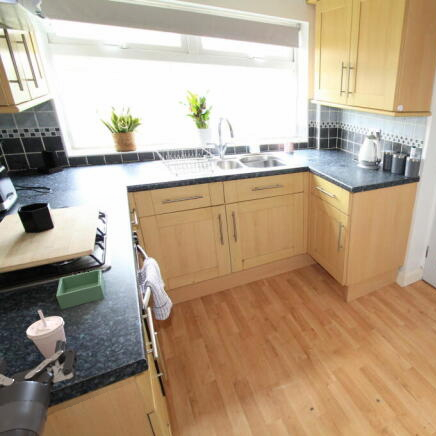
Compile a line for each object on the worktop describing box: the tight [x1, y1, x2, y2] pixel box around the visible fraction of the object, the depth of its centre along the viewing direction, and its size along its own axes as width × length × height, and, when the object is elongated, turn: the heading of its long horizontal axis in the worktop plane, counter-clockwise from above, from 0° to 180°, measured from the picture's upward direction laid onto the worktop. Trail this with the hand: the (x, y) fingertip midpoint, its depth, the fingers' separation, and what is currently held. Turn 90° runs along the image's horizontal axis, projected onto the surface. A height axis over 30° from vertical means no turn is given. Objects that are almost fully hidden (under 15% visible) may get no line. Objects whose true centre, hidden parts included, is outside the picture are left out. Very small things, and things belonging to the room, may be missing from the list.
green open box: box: [55, 268, 106, 310], centre depth 95 cm, size 10×10×5 cm
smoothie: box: [25, 309, 67, 364], centre depth 72 cm, size 6×6×14 cm
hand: (32, 352), depth 61 cm, fingers open, 8 cm apart
